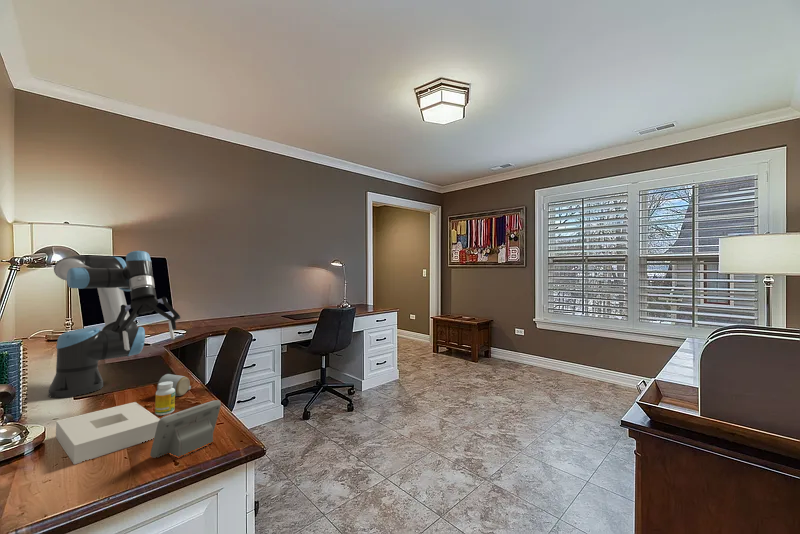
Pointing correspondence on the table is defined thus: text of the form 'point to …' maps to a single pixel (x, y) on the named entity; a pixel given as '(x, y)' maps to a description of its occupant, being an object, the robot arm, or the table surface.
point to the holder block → (105, 431)
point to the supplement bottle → (165, 398)
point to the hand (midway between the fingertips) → (150, 344)
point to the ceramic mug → (177, 383)
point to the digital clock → (186, 430)
